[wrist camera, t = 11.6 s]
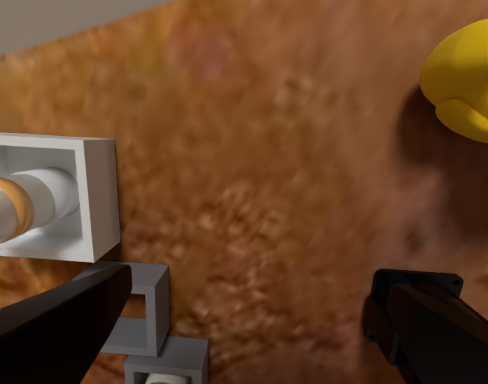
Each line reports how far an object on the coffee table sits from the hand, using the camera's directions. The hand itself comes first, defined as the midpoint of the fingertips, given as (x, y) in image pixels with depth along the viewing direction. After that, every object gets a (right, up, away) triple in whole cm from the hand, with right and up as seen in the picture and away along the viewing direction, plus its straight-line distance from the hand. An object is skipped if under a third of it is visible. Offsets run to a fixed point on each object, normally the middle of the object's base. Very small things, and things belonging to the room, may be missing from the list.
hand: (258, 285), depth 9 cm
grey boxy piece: (-7, -13, +15) cm, 20 cm away
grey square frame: (-10, -6, +13) cm, 17 cm away
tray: (-14, +3, +11) cm, 19 cm away
